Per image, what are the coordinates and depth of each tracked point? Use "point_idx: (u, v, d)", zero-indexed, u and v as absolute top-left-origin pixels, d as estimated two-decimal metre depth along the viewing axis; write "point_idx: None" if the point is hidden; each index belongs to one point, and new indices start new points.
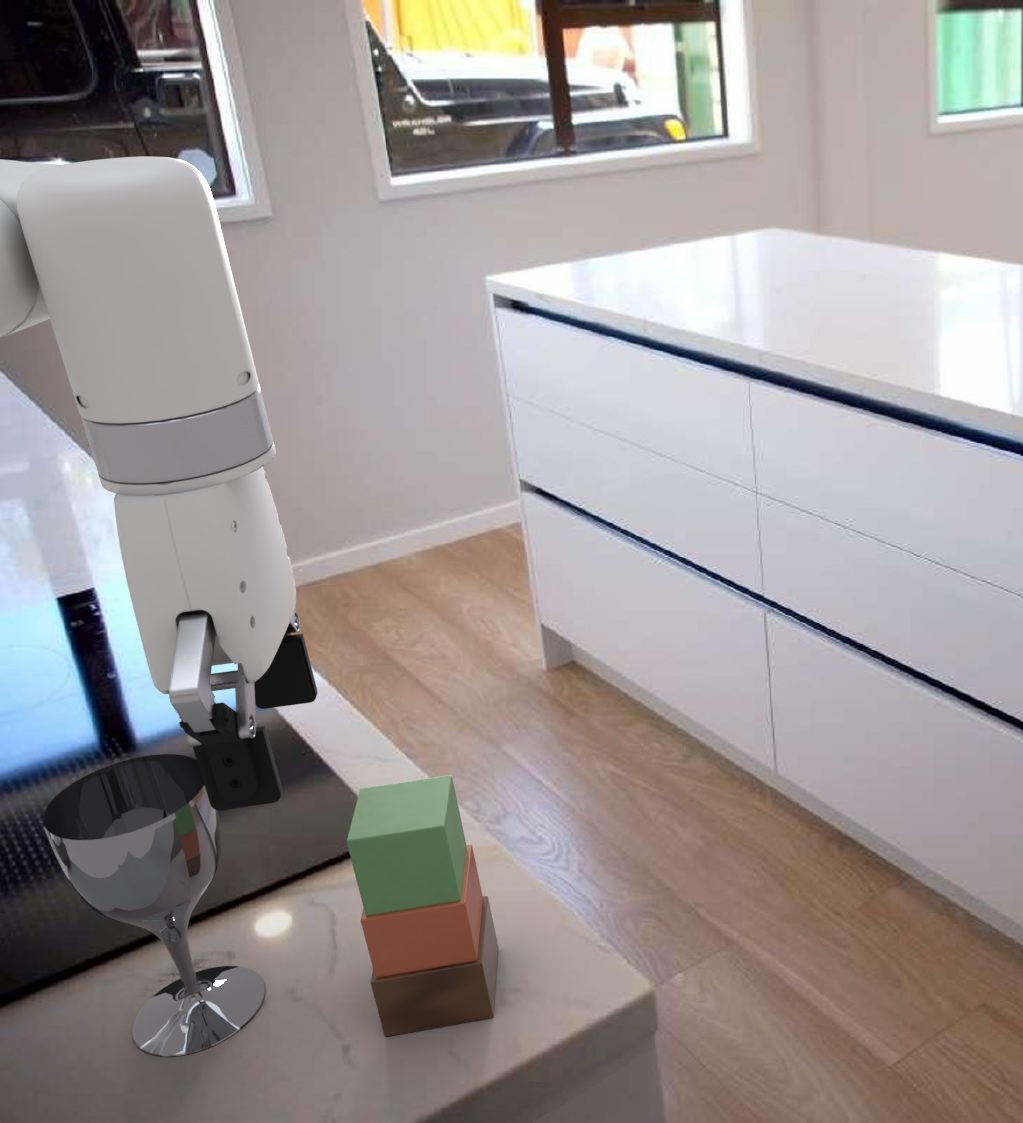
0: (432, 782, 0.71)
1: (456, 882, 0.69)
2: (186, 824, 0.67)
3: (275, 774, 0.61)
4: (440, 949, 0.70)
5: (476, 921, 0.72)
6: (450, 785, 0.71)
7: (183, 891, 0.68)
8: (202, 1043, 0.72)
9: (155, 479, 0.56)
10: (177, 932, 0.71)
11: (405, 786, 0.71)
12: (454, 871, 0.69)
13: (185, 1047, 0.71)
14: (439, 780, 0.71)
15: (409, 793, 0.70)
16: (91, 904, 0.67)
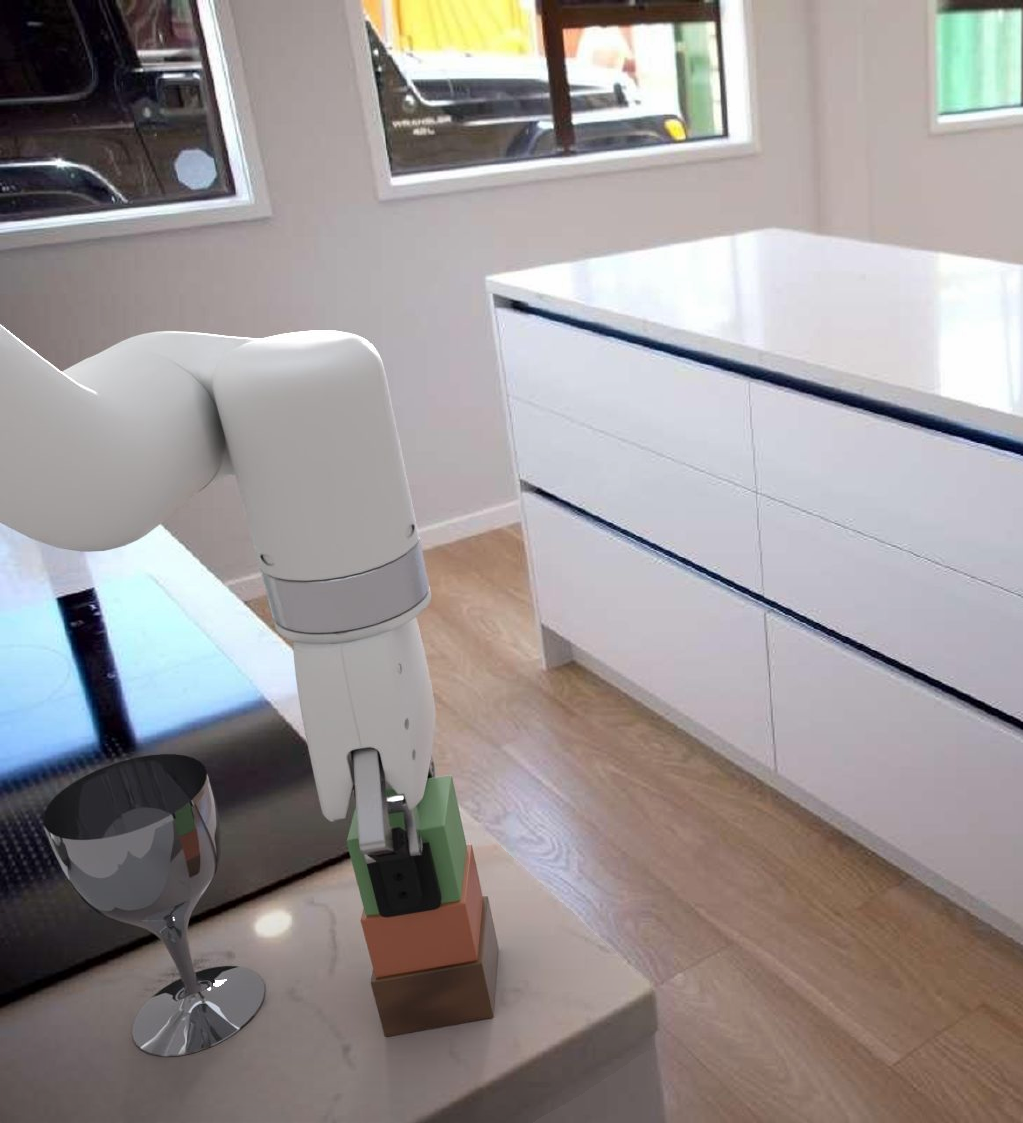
0: (432, 782, 0.71)
1: (456, 882, 0.69)
2: (186, 824, 0.67)
3: (437, 885, 0.68)
4: (440, 949, 0.70)
5: (476, 921, 0.72)
6: (450, 785, 0.71)
7: (183, 891, 0.68)
8: (202, 1043, 0.72)
9: (331, 629, 0.61)
10: (177, 932, 0.71)
11: None
12: (454, 871, 0.69)
13: (185, 1047, 0.71)
14: (439, 780, 0.71)
15: None
16: (91, 904, 0.67)
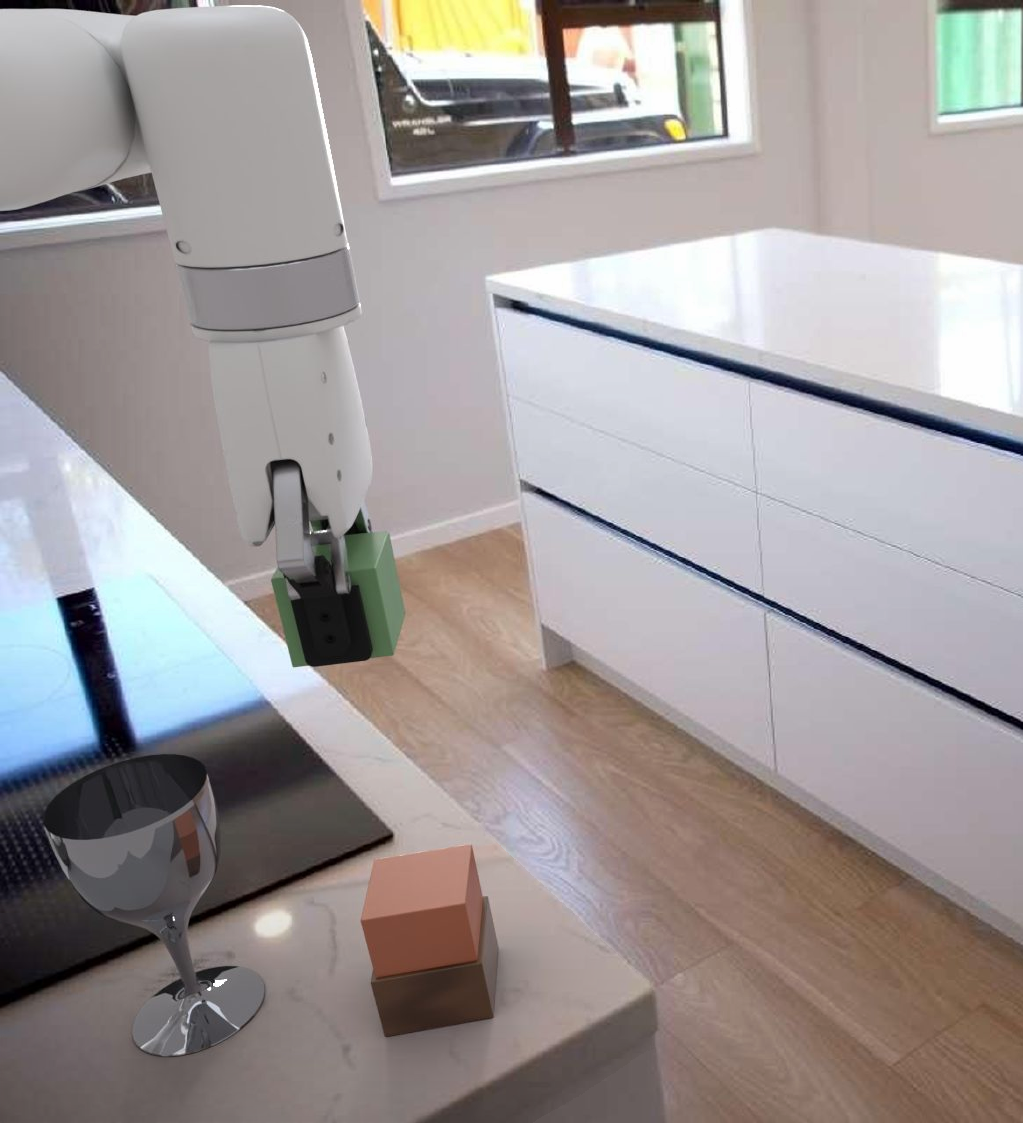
0: (367, 536, 0.67)
1: (389, 634, 0.65)
2: (186, 824, 0.67)
3: (367, 632, 0.64)
4: (440, 949, 0.70)
5: (476, 921, 0.72)
6: (386, 538, 0.67)
7: (183, 891, 0.68)
8: (202, 1043, 0.72)
9: (249, 325, 0.57)
10: (177, 932, 0.71)
11: None
12: (387, 621, 0.65)
13: (185, 1047, 0.71)
14: (375, 534, 0.67)
15: None
16: (91, 904, 0.67)
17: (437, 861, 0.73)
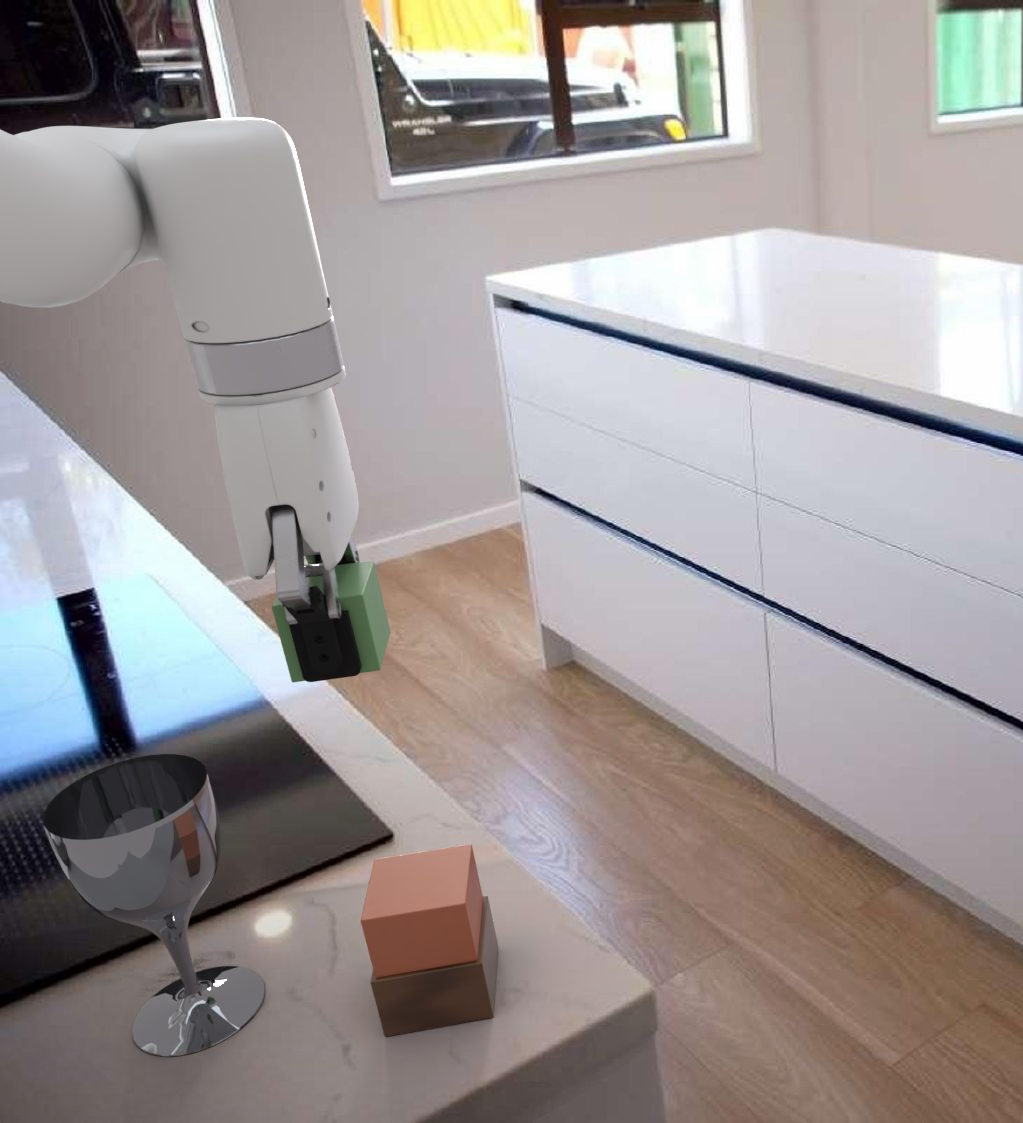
0: (355, 565, 0.77)
1: (375, 651, 0.75)
2: (186, 824, 0.67)
3: (356, 651, 0.74)
4: (440, 949, 0.70)
5: (476, 921, 0.72)
6: (372, 568, 0.77)
7: (183, 891, 0.68)
8: (202, 1043, 0.72)
9: (249, 391, 0.66)
10: (177, 932, 0.71)
11: None
12: (373, 641, 0.74)
13: (185, 1047, 0.71)
14: (362, 564, 0.77)
15: None
16: (91, 904, 0.67)
17: (437, 861, 0.73)
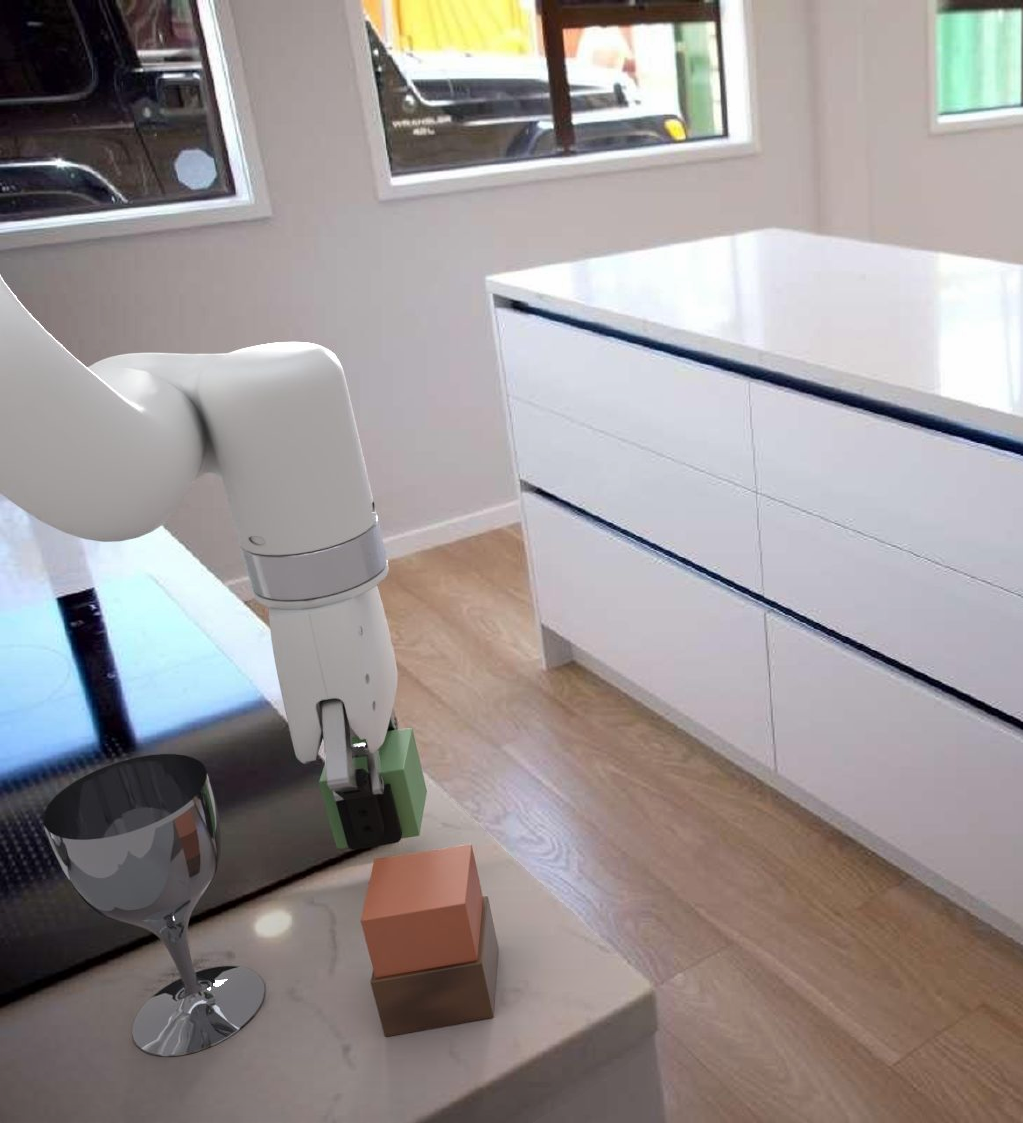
0: (395, 734, 0.82)
1: (415, 819, 0.79)
2: (186, 824, 0.67)
3: (397, 821, 0.79)
4: (440, 949, 0.70)
5: (476, 921, 0.72)
6: (410, 736, 0.82)
7: (183, 891, 0.68)
8: (202, 1043, 0.72)
9: (301, 597, 0.71)
10: (177, 932, 0.71)
11: None
12: (413, 809, 0.79)
13: (185, 1047, 0.71)
14: (401, 732, 0.82)
15: None
16: (91, 904, 0.67)
17: (437, 861, 0.73)
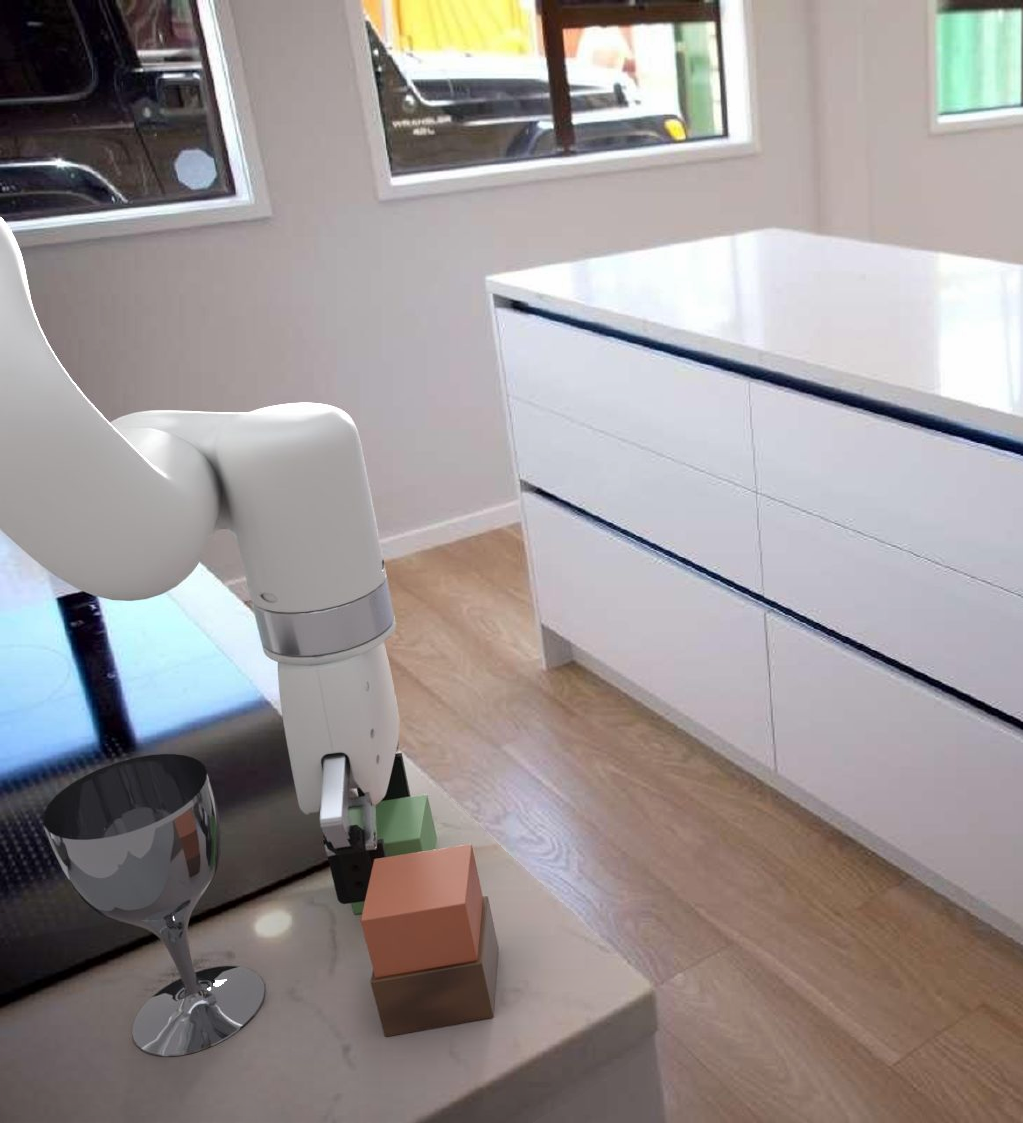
0: (410, 800, 0.84)
1: None
2: (186, 824, 0.67)
3: None
4: (440, 949, 0.70)
5: (476, 921, 0.72)
6: (426, 803, 0.84)
7: (183, 891, 0.68)
8: (202, 1043, 0.72)
9: (310, 653, 0.72)
10: (177, 932, 0.71)
11: (387, 804, 0.84)
12: None
13: (185, 1047, 0.71)
14: (417, 799, 0.84)
15: (391, 810, 0.83)
16: (91, 904, 0.67)
17: (437, 861, 0.73)
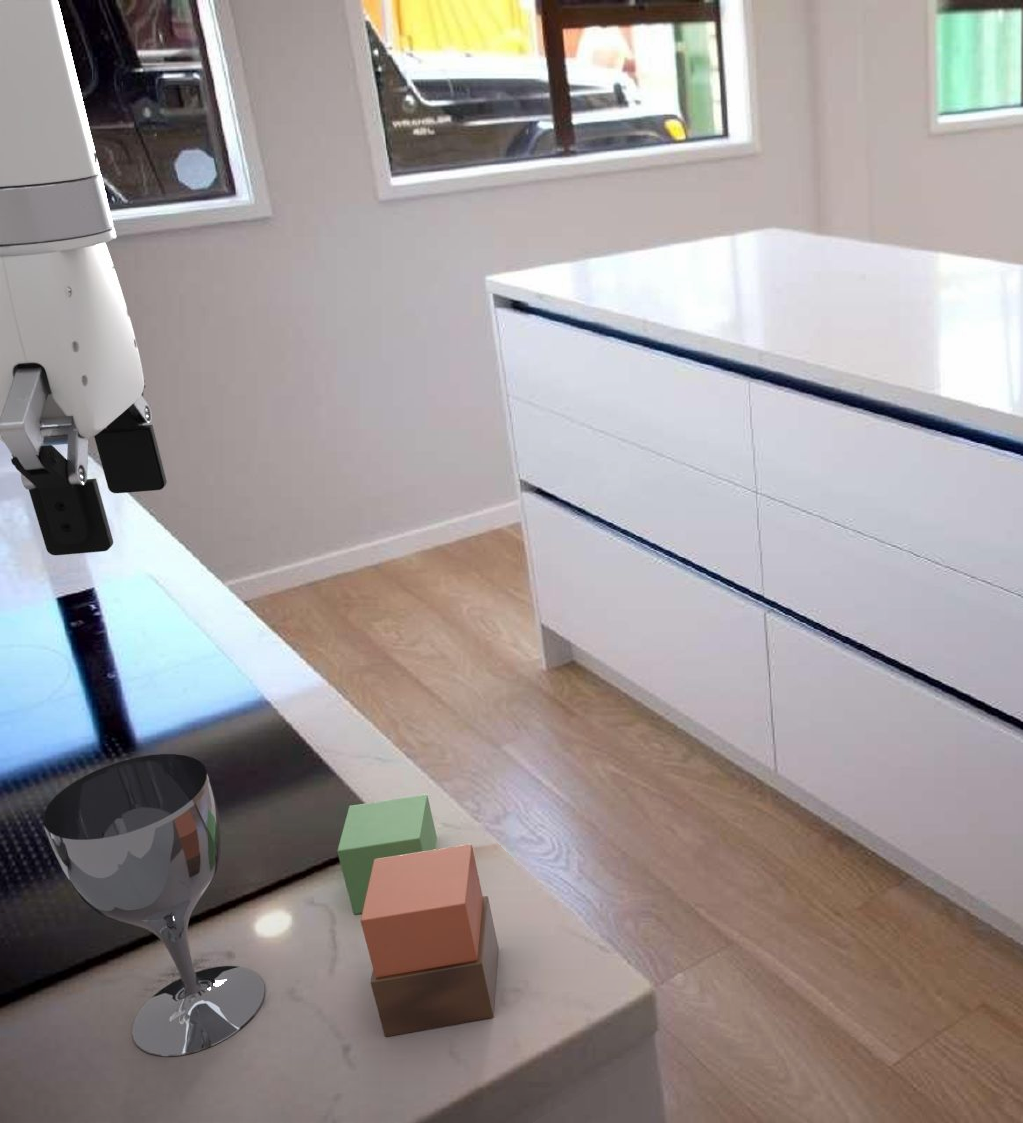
0: (410, 800, 0.84)
1: None
2: (186, 824, 0.67)
3: (105, 524, 0.69)
4: (440, 949, 0.70)
5: (476, 921, 0.72)
6: (426, 803, 0.84)
7: (183, 891, 0.68)
8: (202, 1043, 0.72)
9: None
10: (177, 932, 0.71)
11: (387, 804, 0.84)
12: None
13: (185, 1047, 0.71)
14: (417, 799, 0.84)
15: (391, 810, 0.83)
16: (91, 904, 0.67)
17: (437, 861, 0.73)
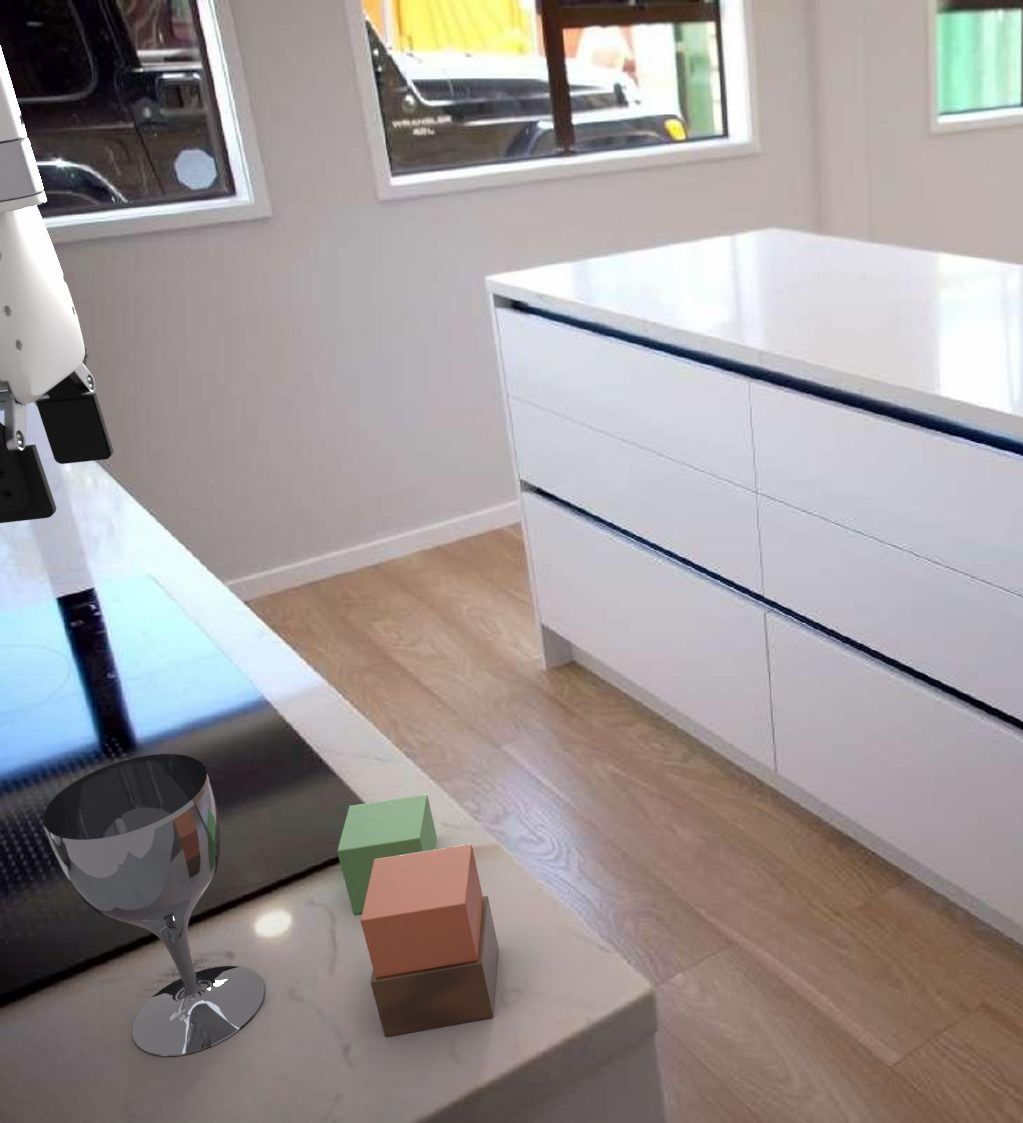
0: (410, 800, 0.84)
1: None
2: (186, 824, 0.67)
3: (47, 490, 0.69)
4: (440, 949, 0.70)
5: (476, 921, 0.72)
6: (426, 803, 0.84)
7: (183, 891, 0.68)
8: (202, 1043, 0.72)
9: None
10: (177, 932, 0.71)
11: (387, 804, 0.84)
12: None
13: (185, 1047, 0.71)
14: (417, 799, 0.84)
15: (391, 810, 0.83)
16: (91, 904, 0.67)
17: (437, 861, 0.73)
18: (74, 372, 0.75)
